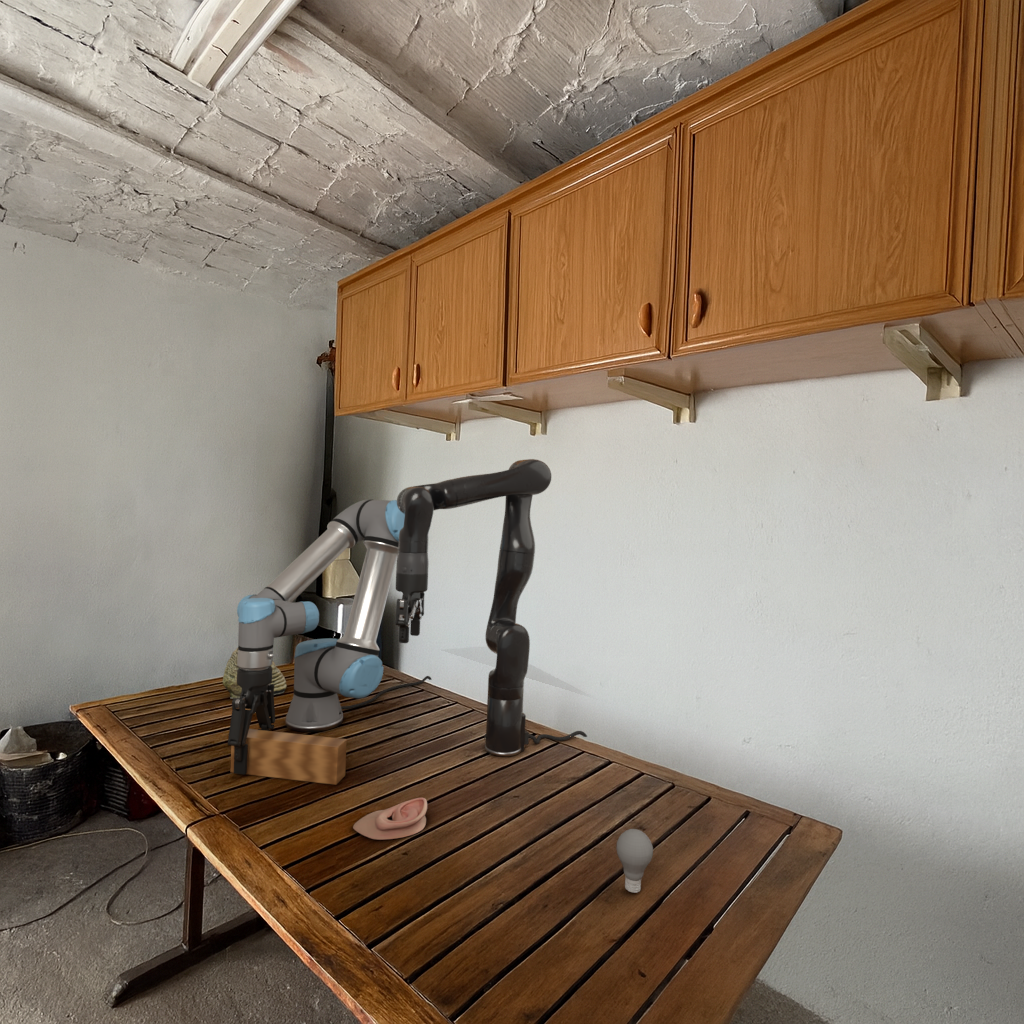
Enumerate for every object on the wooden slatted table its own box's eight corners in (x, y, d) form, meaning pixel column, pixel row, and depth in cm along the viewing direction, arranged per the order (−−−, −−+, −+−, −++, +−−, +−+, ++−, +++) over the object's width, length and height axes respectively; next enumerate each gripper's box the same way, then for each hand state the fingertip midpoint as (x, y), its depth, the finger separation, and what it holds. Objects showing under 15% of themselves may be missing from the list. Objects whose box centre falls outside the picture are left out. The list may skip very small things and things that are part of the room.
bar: (230, 772, 143) (231, 735, 143) (242, 763, 148) (243, 728, 148) (336, 785, 140) (337, 747, 139) (345, 775, 144) (346, 738, 144)
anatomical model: (346, 814, 119) (372, 787, 130) (345, 835, 119) (371, 806, 130) (413, 824, 116) (433, 796, 127) (412, 846, 116) (432, 816, 127)
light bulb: (610, 879, 108) (613, 822, 108) (644, 879, 109) (647, 822, 109) (619, 902, 102) (622, 840, 102) (655, 901, 103) (658, 840, 103)
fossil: (218, 695, 195) (220, 647, 195) (278, 685, 208) (279, 640, 207) (228, 703, 189) (230, 653, 188) (289, 692, 201) (290, 645, 201)
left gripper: (243, 680, 134) (240, 787, 134) (293, 657, 155) (289, 749, 155) (211, 677, 135) (207, 783, 135) (264, 654, 156) (261, 746, 156)
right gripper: (418, 575, 142) (415, 647, 143) (435, 568, 157) (433, 634, 157) (386, 573, 144) (383, 644, 144) (406, 567, 158) (403, 631, 158)
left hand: (251, 764), depth 145 cm, fingers open, 8 cm apart
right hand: (409, 639), depth 150 cm, fingers open, 8 cm apart
